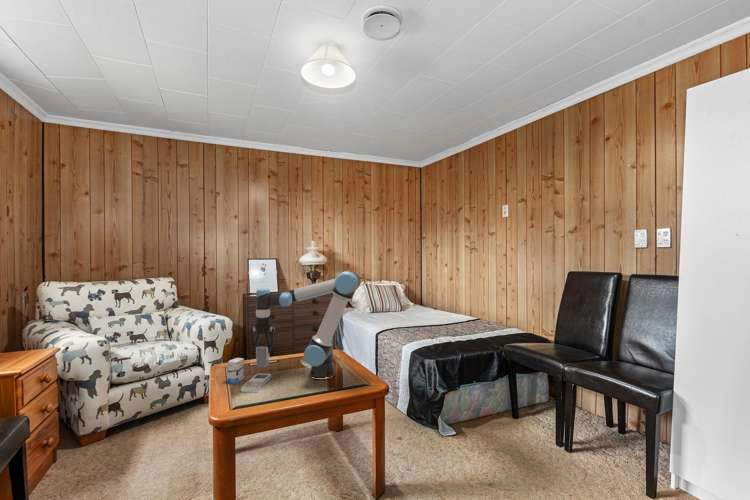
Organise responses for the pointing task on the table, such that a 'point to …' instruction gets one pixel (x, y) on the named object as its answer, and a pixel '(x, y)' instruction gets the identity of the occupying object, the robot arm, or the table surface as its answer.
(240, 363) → the ink box
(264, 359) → the grey rectangular block
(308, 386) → the table surface
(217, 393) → the table surface
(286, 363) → the table surface
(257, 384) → the white piece
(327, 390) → the table surface
